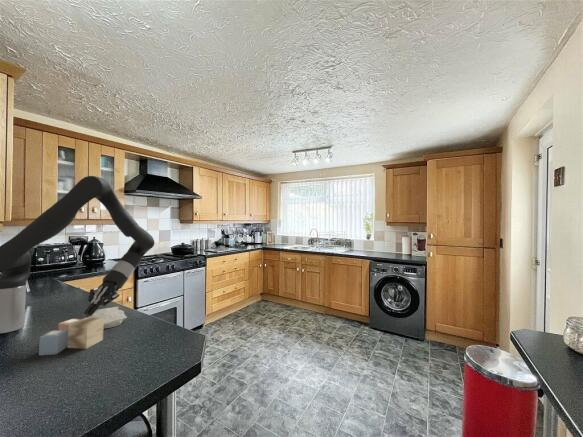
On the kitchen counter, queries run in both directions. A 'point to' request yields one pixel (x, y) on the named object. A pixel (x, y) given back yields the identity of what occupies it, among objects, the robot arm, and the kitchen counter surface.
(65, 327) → the terracotta label block
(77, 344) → the plain block
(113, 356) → the kitchen counter surface
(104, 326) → the stone tool
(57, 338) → the blue label block
